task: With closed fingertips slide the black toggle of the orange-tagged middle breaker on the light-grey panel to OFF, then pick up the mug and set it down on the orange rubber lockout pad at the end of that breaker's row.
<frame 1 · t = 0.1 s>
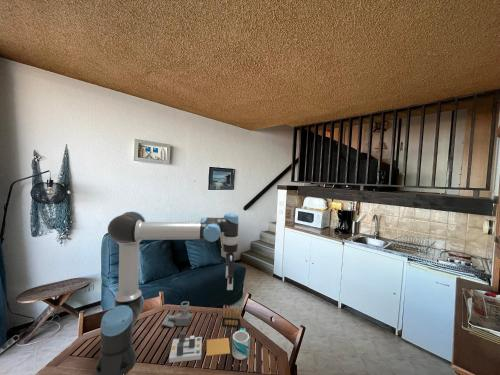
hand: (229, 283, 118), 28 cm above the table, fingers open, 13 cm apart
breaker panel: (186, 350, 107), on the table
ammunition clip: (231, 326, 127), on the table
breaker c: (182, 345, 111), resting on breaker panel, slide at 5.0 cm
lockout pad: (218, 347, 110), on the table
camera: (177, 323, 127), on the table
breaker a: (179, 358, 103), resting on breaker panel, slide at 5.0 cm
mug: (241, 349, 109), on the table
breaker b: (191, 350, 108), resting on breaker panel, slide at 0.0 cm
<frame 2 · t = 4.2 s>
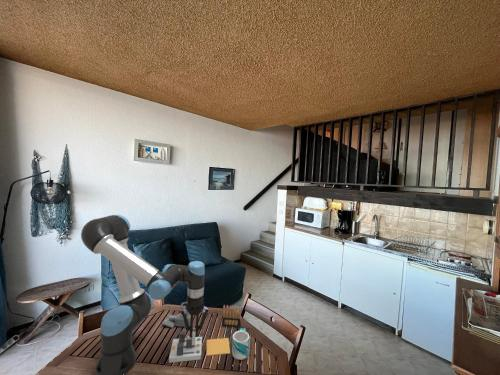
hand: (193, 343, 108), 3 cm above the table, fingers closed
breaker b: (189, 350, 107), resting on breaker panel, slide at 1.3 cm, touching gripper
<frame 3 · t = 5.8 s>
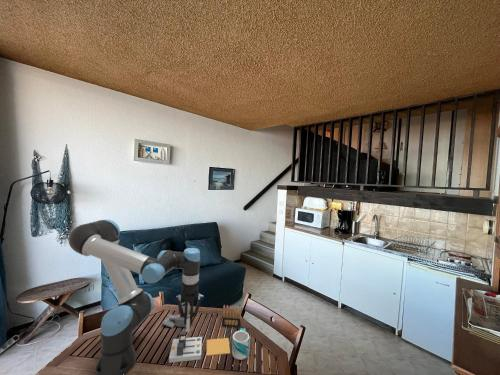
hand: (187, 330, 107), 10 cm above the table, fingers closed
breaker b: (182, 351, 107), resting on breaker panel, slide at 4.3 cm
everything else where it was.
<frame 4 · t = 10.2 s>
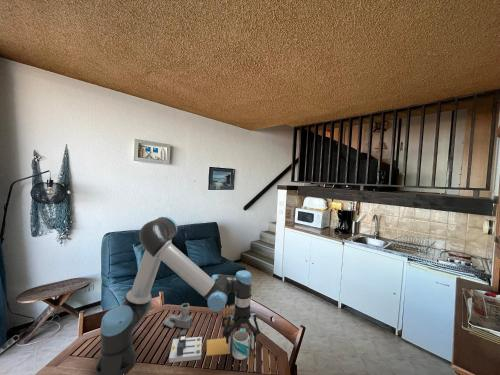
hand: (240, 348, 109), 1 cm above the table, fingers open, 11 cm apart
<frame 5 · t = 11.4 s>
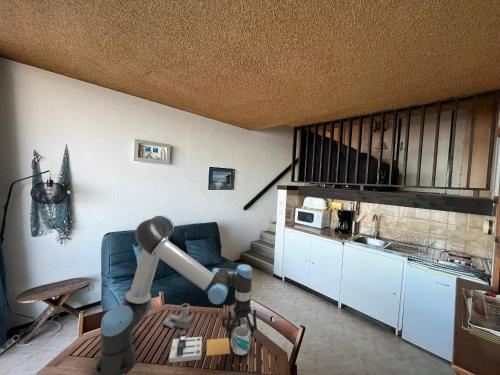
hand: (240, 343, 109), 3 cm above the table, fingers closed on mug, 8 cm apart
mug: (241, 345, 109), point 2 cm above the table, touching gripper
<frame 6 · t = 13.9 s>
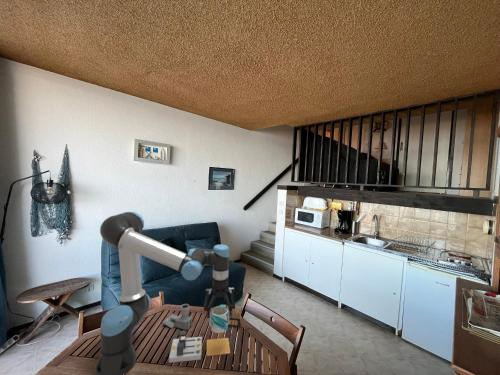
hand: (219, 323, 110), 12 cm above the table, fingers closed on mug, 8 cm apart
mug: (220, 324, 110), point 11 cm above the table, touching gripper
when the fingers open (1 cm above the table, at t = 16.1 s): mug stays where it is, resting on lockout pad.
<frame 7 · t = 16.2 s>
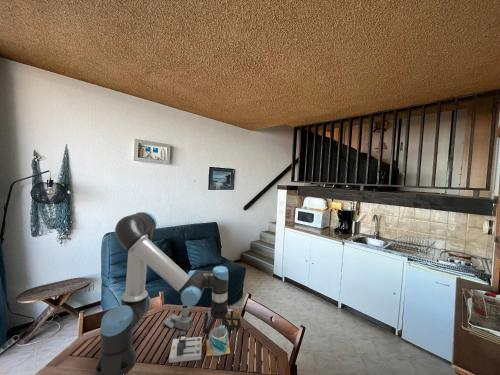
hand: (218, 344, 110), 1 cm above the table, fingers open, 8 cm apart
mug: (219, 346, 110), resting on lockout pad
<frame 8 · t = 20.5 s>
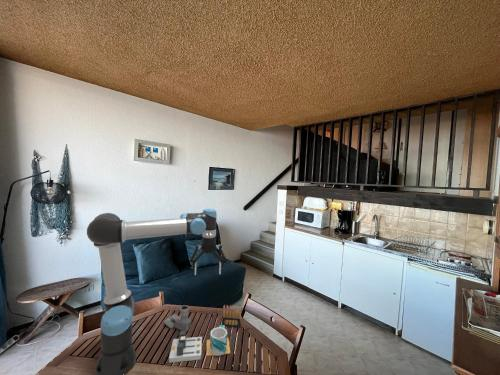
hand: (207, 273, 127), 29 cm above the table, fingers open, 13 cm apart
at the end: breaker b slide at 4.3 cm; mug inside the target area on the lockout pad (0.6 cm from its centre), point 0.3 cm above the lockout pad's base; mug tilted 0° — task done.
